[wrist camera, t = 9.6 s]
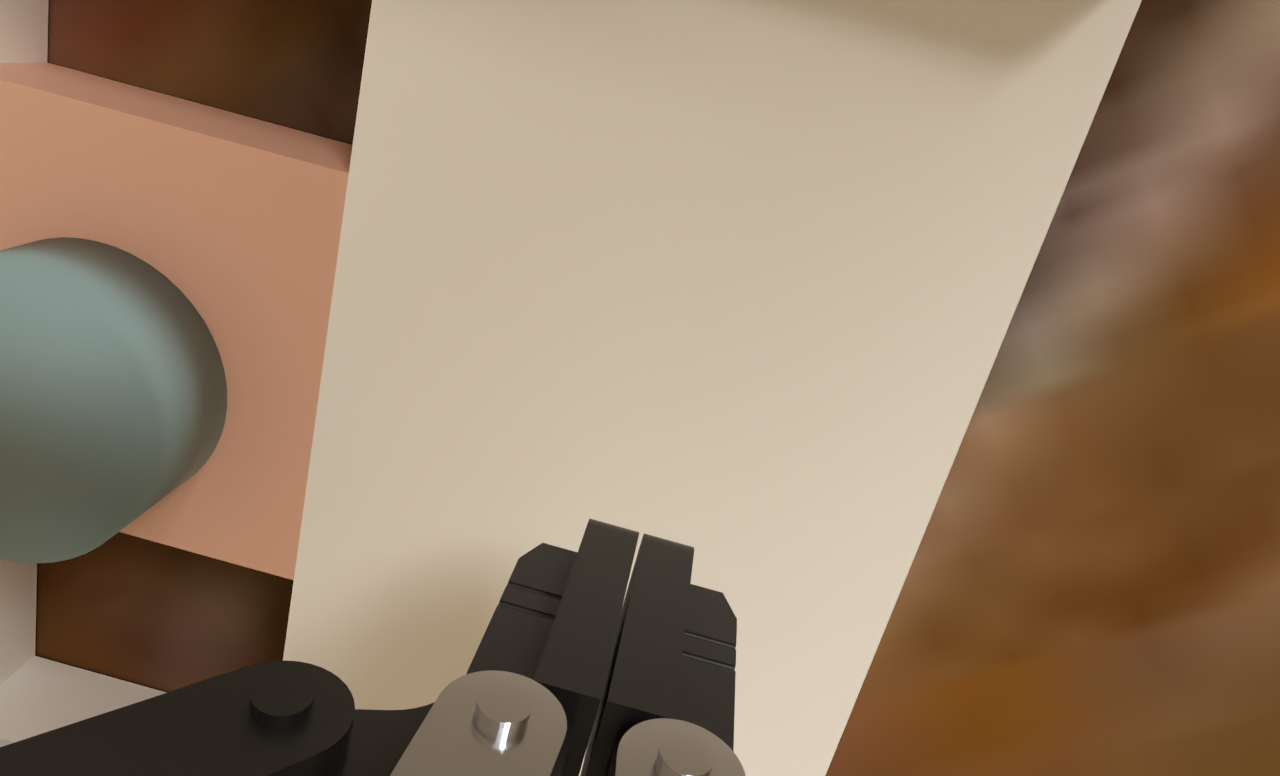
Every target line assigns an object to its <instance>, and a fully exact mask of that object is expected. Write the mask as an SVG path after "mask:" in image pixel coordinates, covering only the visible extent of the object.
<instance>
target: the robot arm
mask: <svg viewBox="0 0 1280 776" xmlns="http://www.w3.org/2000/svg"><path fill="white" fill-rule="evenodd" d="M638 537H639V532H637V531H633V530H630V529H626V528H622V527H619V526H615V525H612V524H608V523H604V522H601V521H597V520H594V519H589V521H588V524H587V527H586V530H585V532H584V535H583V538H582V541H581V544H580V547H579V550H578V552H574V551H571V550H567V549H564V548H560V547H556V546H553V545H549V544H546V543H541V544H540V545H538V546H537V547H535V548H534V549H532V550H531V551H529V552H528V553H526V554H524V555H523V556H521V557H520V558H519V559H518V561H517V563H516V565H515V568H514V570H513V572H512V574H511V576H510V579H509V581H508V584H507V586H506V587H505V590H504V592H503V594H502V596H501V598H500V601H499V604H498V605H497V607H496V609H495V612H494V614H493V616H492V618H491V620H490V623H489V625H488V627H487V629H486V631H485V634H484V636H483V638H482V640H481V642H480V645H479V647H478V649H477V651H476V653H475V656H474V658H473V660H472V662H471V664H470V667H469V669H468V671H467V673H466V675H464V676H461V677H459V678H457V679H456V680H454V681H452V682H451V683H450V684H449V685H447V686H446V687H445V688H444V689H443V691H442V692H441V693H440V695H439V696H438V698H437V699H436V701H435V702H433V703H431V704H428V705H425V706H421V707H417V708H412V709H405V710H366V709H355V704H354V699H353V696H352V693H351V691H350V690H349V688H348V687H347V685H346V684H345V683H344V682H343V681H342V680H341V679H340V678H339V677H337V676H336V675H335V674H333V673H332V672H330V671H328V670H326V669H324V668H322V667H319V666H316V665H313V664H310V663H304V662H299V661H287V660H285V661H270V662H263V663H258V664H255V665H251V666H248V667H244V668H241V669H238V670H235V671H232V672H229V673H226V674H223V675H220V676H217V677H214V678H211V679H208V680H205V681H202V682H198V683H195V684H192V685H189V686H186V687H183V688H180V689H177V690H174V691H171V692H168V693H165V694H162V695H159V696H156V697H153V698H149V699H146V700H143V701H140V702H137V703H134V704H131V705H128V706H125V707H122V708H119V709H116V710H113V711H110V712H107V713H104V714H100V715H97V716H94V717H91V718H88V719H85V720H82V721H79V722H76V723H73V724H70V725H67V726H64V727H61V728H58V729H55V730H51V731H48V732H45V733H42V734H39V735H36V736H33V737H30V738H27V739H24V740H21V741H18V742H15V743H12V744H9V745H6V746H2V747H0V776H579V773H580V770H581V766H582V763H583V766H582V770H581V775H580V776H746V775H745V771H744V769H743V766H742V764H741V762H740V761H739V759H738V757H737V756H736V754H735V753H734V751H733V748H734V711H735V674H736V671H735V667H736V650H735V648H736V637H737V618H736V616H735V614H734V613H733V611H732V609H731V607H730V605H729V603H728V602H727V600H726V598H725V596H724V594H723V593H722V592H718V591H715V590H711V589H708V588H704V587H700V586H697V585H693V584H690V583H691V574H692V565H693V557H694V547H691V546H688V545H684V544H681V543H677V542H673V541H670V540H666V539H663V538H659V537H655V536H652V535H648V534H645V533H644V534H643V537H642V540H641V544H640V547H639V550H638V554H637V557H636V561H635V564H634V568H633V571H632V575H631V578H630V582H629V585H628V589H627V584H628V580H629V576H630V571H631V567H632V563H633V558H634V554H635V550H636V546H637V541H638ZM626 589H627V592H626ZM625 593H626V596H625ZM624 597H625V599H624ZM623 602H624V603H623ZM585 752H586V753H585ZM584 756H585V758H584ZM583 759H584V762H583Z"/></svg>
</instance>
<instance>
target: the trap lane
mask: <svg viewBox="0 0 1280 776" xmlns="http://www.w3.org/2000/svg"><path fill="white" fill-rule="evenodd" d="M1141 1H1142V0H372V5H371V12H370V20H369V27H368V34H367V42H366V49H365V57H364V64H363V71H362V79H361V86H360V94H359V101H358V108H357V116H356V123H355V131H354V138H353V145H351V144H347V143H344V142H340V141H336V140H332V139H329V138H325V137H321V136H318V135H314V134H310V133H306V132H303V131H299V130H295V129H292V128H288V127H284V126H281V125H277V124H273V123H269V122H266V121H262V120H258V119H255V118H251V117H247V116H244V115H240V114H236V113H232V112H229V111H225V110H221V109H218V108H214V107H210V106H207V105H203V104H199V103H195V102H192V101H188V100H184V99H181V98H177V97H173V96H169V95H166V94H162V93H158V92H155V91H151V90H147V89H144V88H140V87H136V86H132V85H129V84H125V83H121V82H118V81H114V80H110V79H107V78H103V77H99V76H95V75H92V74H88V73H84V72H81V71H77V70H73V69H69V68H66V67H62V66H58V65H55V64H51V63H47V53H48V4H49V0H0V250H4V249H8V248H12V247H15V246H19V245H23V244H27V243H31V242H35V241H38V240H42V239H49V238H59V237H67V238H82V239H88V240H94V241H98V242H101V243H105V244H108V245H111V246H115V247H117V248H119V249H121V250H124V251H126V252H128V253H131V254H133V255H134V256H136V257H138V258H140V259H141V260H143V261H145V262H146V263H148V264H150V265H151V266H152V267H154V268H155V269H156V270H158V271H159V272H160V273H162V274H163V275H165V276H166V277H167V278H168V279H169V280H170V281H171V282H172V283H173V284H174V285H175V286H177V287H178V288H179V289H180V290H181V291H182V293H183V294H184V295H185V296H186V297H187V298H188V300H189V301H190V302H191V303H192V304H193V305H194V307H195V308H196V310H197V311H198V313H199V314H200V316H201V317H202V318H203V320H204V322H205V323H206V325H207V327H208V329H209V331H210V333H211V334H212V336H213V338H214V341H215V343H216V346H217V348H218V351H219V353H220V356H221V360H222V364H223V367H224V371H225V377H226V384H227V411H226V419H225V424H224V427H223V431H222V434H221V437H220V439H219V441H218V444H217V446H216V448H215V450H214V452H213V453H212V455H211V456H210V457H209V459H208V460H207V462H206V463H205V464H204V465H203V466H202V467H201V468H200V469H199V470H198V472H197V473H195V474H194V475H193V476H191V477H190V478H189V479H188V480H186V481H185V482H184V483H182V484H181V485H180V486H178V487H177V488H176V489H174V490H173V491H172V492H170V493H169V494H168V495H166V496H165V497H164V498H163V499H161V500H160V501H159V502H157V503H156V504H155V505H153V506H152V507H151V508H149V509H148V510H147V511H145V512H144V513H143V514H141V515H140V516H139V517H138V518H136V519H135V520H134V521H132V522H131V523H130V524H128V525H127V526H126V527H124V528H123V529H122V530H120V531H119V532H121V533H125V534H128V535H132V536H136V537H139V538H143V539H146V540H150V541H154V542H157V543H161V544H164V545H168V546H172V547H175V548H179V549H183V550H186V551H190V552H193V553H197V554H201V555H204V556H208V557H211V558H215V559H219V560H222V561H226V562H229V563H233V564H237V565H240V566H244V567H247V568H251V569H255V570H258V571H262V572H266V573H269V574H273V575H276V576H280V577H284V578H287V579H291V580H294V582H293V589H292V596H291V604H290V611H289V618H288V626H287V633H286V641H285V648H284V655H283V661H285V660H287V661H299V662H304V663H310V664H313V665H316V666H319V667H322V668H324V669H326V670H328V671H330V672H332V673H333V674H335V675H336V676H337V677H339V678H340V679H341V680H342V681H343V682H344V683H345V684H346V685H347V687H348V688H349V690H350V691H351V693H352V696H353V699H354V704H355V709H366V710H405V709H412V708H417V707H421V706H425V705H428V704H431V703H433V702H435V701H436V699H437V698H438V696H439V695H440V693H441V692H442V691H443V689H444V688H445V687H446V686H447V685H449V684H450V683H451V682H452V681H454V680H456V679H457V678H459V677H461V676H464V675H466V673H467V671H468V669H469V667H470V664H471V662H472V660H473V658H474V656H475V653H476V651H477V649H478V647H479V645H480V642H481V640H482V638H483V636H484V634H485V631H486V629H487V627H488V625H489V623H490V620H491V618H492V616H493V614H494V612H495V609H496V607H497V605H498V604H499V601H500V598H501V596H502V594H503V592H504V590H505V587H506V586H507V584H508V581H509V579H510V576H511V574H512V572H513V570H514V568H515V565H516V563H517V561H518V559H519V558H520V557H521V556H523V555H524V554H526V553H528V552H529V551H531V550H532V549H534V548H535V547H537V546H538V545H540V544H541V543H546V544H549V545H553V546H556V547H560V548H564V549H567V550H571V551H574V552H578V550H579V547H580V544H581V541H582V538H583V535H584V532H585V530H586V527H587V524H588V521H589V519H594V520H597V521H601V522H604V523H608V524H612V525H615V526H619V527H622V528H626V529H630V530H633V531H637V532H639V537H638V541H637V546H636V550H635V554H634V558H633V563H632V567H631V571H630V576H629V580H628V584H627V589H628V585H629V582H630V578H631V575H632V571H633V568H634V564H635V561H636V557H637V554H638V550H639V547H640V544H641V540H642V537H643V534H644V533H645V534H648V535H652V536H655V537H659V538H663V539H666V540H670V541H673V542H677V543H681V544H684V545H688V546H691V547H694V557H693V565H692V574H691V583H690V584H693V585H697V586H700V587H704V588H708V589H711V590H715V591H718V592H722V593H723V594H724V596H725V598H726V600H727V602H728V603H729V605H730V607H731V609H732V611H733V613H734V614H735V616H736V618H737V637H736V648H735V650H736V667H735V671H736V674H735V711H734V748H733V751H734V753H735V754H736V756H737V757H738V759H739V761H740V762H741V764H742V766H743V769H744V771H745V775H746V776H825V775H826V772H827V770H828V767H829V765H830V763H831V760H832V758H833V755H834V753H835V750H836V748H837V745H838V743H839V740H840V738H841V736H842V733H843V731H844V728H845V726H846V723H847V721H848V718H849V716H850V714H851V711H852V709H853V706H854V704H855V701H856V699H857V696H858V694H859V691H860V689H861V687H862V684H863V682H864V679H865V677H866V674H867V672H868V669H869V667H870V665H871V662H872V660H873V657H874V655H875V652H876V650H877V647H878V645H879V643H880V640H881V638H882V635H883V633H884V630H885V628H886V625H887V623H888V620H889V618H890V616H891V613H892V611H893V608H894V606H895V603H896V601H897V598H898V596H899V594H900V591H901V589H902V586H903V584H904V581H905V579H906V576H907V574H908V572H909V569H910V567H911V564H912V562H913V559H914V557H915V554H916V552H917V549H918V547H919V545H920V542H921V540H922V537H923V535H924V532H925V530H926V527H927V525H928V523H929V520H930V518H931V515H932V513H933V510H934V508H935V505H936V503H937V500H938V498H939V496H940V493H941V491H942V488H943V486H944V483H945V481H946V478H947V476H948V474H949V471H950V469H951V466H952V464H953V461H954V459H955V456H956V454H957V452H958V449H959V447H960V444H961V442H962V439H963V437H964V434H965V432H966V429H967V427H968V425H969V422H970V420H971V417H972V415H973V412H974V410H975V407H976V405H977V403H978V400H979V398H980V395H981V393H982V390H983V388H984V385H985V383H986V381H987V378H988V376H989V373H990V371H991V368H992V366H993V363H994V361H995V358H996V356H997V354H998V351H999V349H1000V346H1001V344H1002V341H1003V339H1004V336H1005V334H1006V332H1007V329H1008V327H1009V324H1010V322H1011V319H1012V317H1013V314H1014V312H1015V309H1016V307H1017V305H1018V302H1019V300H1020V297H1021V295H1022V292H1023V290H1024V287H1025V285H1026V283H1027V280H1028V278H1029V275H1030V273H1031V270H1032V268H1033V265H1034V263H1035V261H1036V258H1037V256H1038V253H1039V251H1040V248H1041V246H1042V243H1043V241H1044V238H1045V236H1046V234H1047V231H1048V229H1049V226H1050V224H1051V221H1052V219H1053V216H1054V214H1055V212H1056V209H1057V207H1058V204H1059V202H1060V199H1061V197H1062V194H1063V192H1064V190H1065V187H1066V185H1067V182H1068V180H1069V177H1070V175H1071V172H1072V170H1073V167H1074V165H1075V163H1076V160H1077V158H1078V155H1079V153H1080V150H1081V148H1082V145H1083V143H1084V141H1085V138H1086V136H1087V133H1088V131H1089V128H1090V126H1091V123H1092V121H1093V118H1094V116H1095V114H1096V111H1097V109H1098V106H1099V104H1100V101H1101V99H1102V96H1103V94H1104V92H1105V89H1106V87H1107V84H1108V82H1109V79H1110V77H1111V74H1112V72H1113V70H1114V67H1115V65H1116V62H1117V60H1118V57H1119V55H1120V52H1121V50H1122V47H1123V45H1124V43H1125V40H1126V38H1127V35H1128V33H1129V30H1130V28H1131V25H1132V23H1133V21H1134V18H1135V16H1136V13H1137V11H1138V8H1139V6H1140V3H1141ZM627 589H626V592H627ZM36 591H37V564H34V563H19V562H12V561H7V560H2V559H0V747H2V746H6V745H9V744H12V743H15V742H18V741H21V740H24V739H27V738H30V737H33V736H36V735H39V734H42V733H45V732H48V731H51V730H55V729H58V728H61V727H64V726H67V725H70V724H73V723H76V722H79V721H82V720H85V719H88V718H91V717H94V716H97V715H100V714H104V713H107V712H110V711H113V710H116V709H119V708H122V707H125V706H128V705H131V704H134V703H137V702H140V701H143V700H146V699H149V698H153V697H156V696H159V695H162V694H165V693H167V692H163V691H159V690H156V689H152V688H149V687H145V686H141V685H138V684H134V683H131V682H127V681H124V680H120V679H116V678H113V677H109V676H106V675H102V674H99V673H95V672H91V671H88V670H84V669H81V668H77V667H73V666H70V665H66V664H63V663H59V662H56V661H52V660H48V659H45V658H41V657H38V656H35V640H36ZM625 596H626V593H625ZM624 599H625V597H624ZM623 603H624V602H623ZM585 753H586V752H585ZM584 758H585V756H584ZM583 762H584V759H583ZM582 766H583V763H582ZM582 766H581V770H582ZM581 770H580V773H579V776H580V775H581Z"/></svg>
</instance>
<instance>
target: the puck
mask: <svg viewBox="0 0 1280 776" xmlns="http://www.w3.org/2000/svg"><path fill="white" fill-rule="evenodd" d="M226 411H227V384H226V377H225V371H224V367H223V364H222V360H221V356H220V353H219V351H218V348H217V346H216V343H215V341H214V338H213V336H212V334H211V333H210V331H209V329H208V327H207V325H206V323H205V322H204V320H203V318H202V317H201V316H200V314H199V313H198V311H197V310H196V308H195V307H194V305H193V304H192V303H191V302H190V301H189V300H188V298H187V297H186V296H185V295H184V294H183V293H182V291H181V290H180V289H179V288H178V287H177V286H175V285H174V284H173V283H172V282H171V281H170V280H169V279H168V278H167V277H166V276H165V275H163V274H162V273H160V272H159V271H158V270H156V269H155V268H154V267H152V266H151V265H150V264H148V263H146V262H145V261H143V260H141V259H140V258H138V257H136V256H134V255H133V254H131V253H128V252H126V251H124V250H121V249H119V248H117V247H115V246H111V245H108V244H105V243H101V242H98V241H94V240H88V239H82V238H67V237H59V238H49V239H42V240H38V241H35V242H31V243H27V244H23V245H19V246H15V247H12V248H8V249H4V250H0V559H2V560H7V561H12V562H19V563H34V564H37V563H53V562H59V561H64V560H69V559H72V558H75V557H78V556H81V555H84V554H86V553H88V552H90V551H92V550H94V549H95V548H97V547H99V546H101V545H102V544H103V543H105V542H106V541H107V540H109V539H110V538H111V537H113V536H114V535H115V534H116V533H118V532H119V531H120V530H122V529H123V528H124V527H126V526H127V525H128V524H130V523H131V522H132V521H134V520H135V519H136V518H138V517H139V516H140V515H141V514H143V513H144V512H145V511H147V510H148V509H149V508H151V507H152V506H153V505H155V504H156V503H157V502H159V501H160V500H161V499H163V498H164V497H165V496H166V495H168V494H169V493H170V492H172V491H173V490H174V489H176V488H177V487H178V486H180V485H181V484H182V483H184V482H185V481H186V480H188V479H189V478H190V477H191V476H193V475H194V474H195V473H197V472H198V470H199V469H200V468H201V467H202V466H203V465H204V464H205V463H206V462H207V460H208V459H209V457H210V456H211V455H212V453H213V452H214V450H215V448H216V446H217V444H218V441H219V439H220V437H221V434H222V431H223V427H224V424H225V419H226Z"/></svg>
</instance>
